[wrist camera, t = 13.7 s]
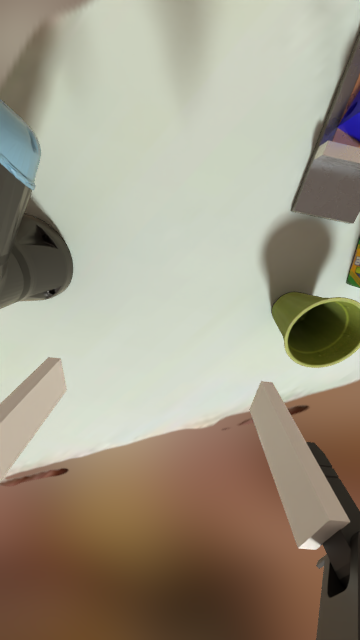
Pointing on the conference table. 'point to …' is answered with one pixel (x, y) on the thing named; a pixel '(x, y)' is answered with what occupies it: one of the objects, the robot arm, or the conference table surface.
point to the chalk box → (355, 269)
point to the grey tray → (335, 158)
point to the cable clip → (352, 119)
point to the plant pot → (318, 328)
